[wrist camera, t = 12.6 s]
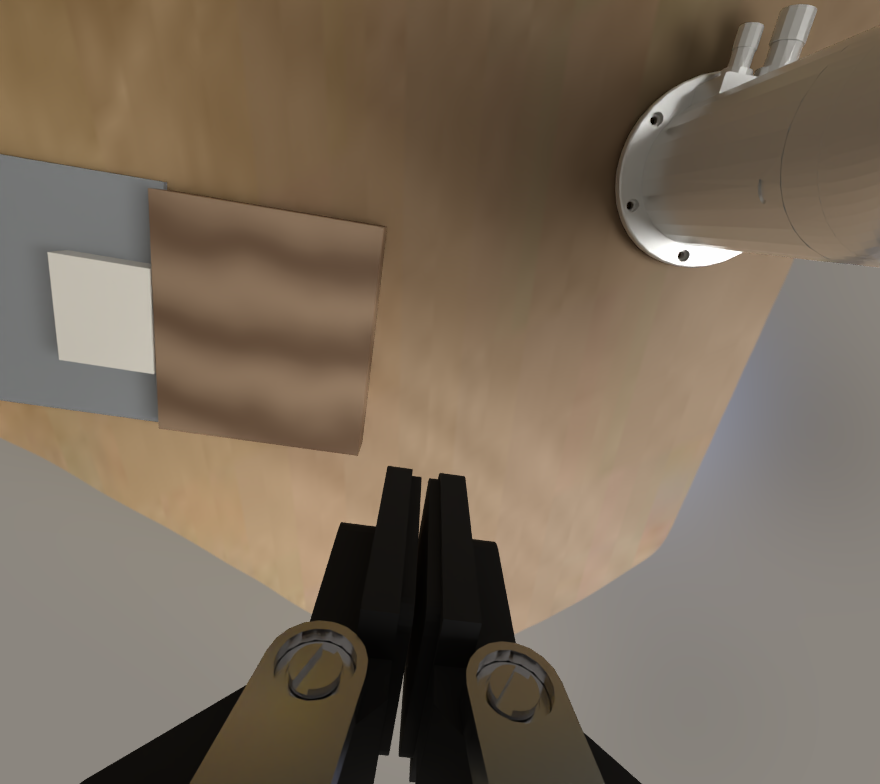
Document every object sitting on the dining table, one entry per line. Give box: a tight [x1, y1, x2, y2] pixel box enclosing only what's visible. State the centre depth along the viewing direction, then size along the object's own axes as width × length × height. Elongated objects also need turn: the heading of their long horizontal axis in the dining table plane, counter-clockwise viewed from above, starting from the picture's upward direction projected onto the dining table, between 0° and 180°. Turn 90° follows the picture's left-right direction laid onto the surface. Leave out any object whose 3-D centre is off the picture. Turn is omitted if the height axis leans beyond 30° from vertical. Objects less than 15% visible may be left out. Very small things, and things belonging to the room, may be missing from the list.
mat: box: [0, 154, 167, 422], centre depth 37 cm, size 19×18×1 cm
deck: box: [148, 188, 387, 456], centre depth 37 cm, size 18×16×2 cm
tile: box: [47, 250, 156, 374], centre depth 36 cm, size 8×7×2 cm
